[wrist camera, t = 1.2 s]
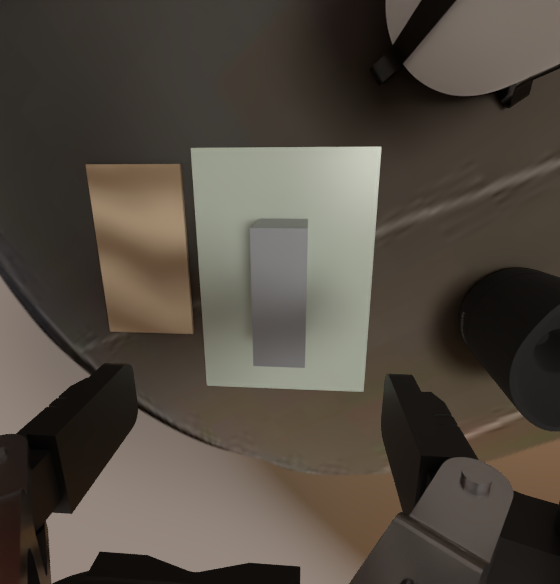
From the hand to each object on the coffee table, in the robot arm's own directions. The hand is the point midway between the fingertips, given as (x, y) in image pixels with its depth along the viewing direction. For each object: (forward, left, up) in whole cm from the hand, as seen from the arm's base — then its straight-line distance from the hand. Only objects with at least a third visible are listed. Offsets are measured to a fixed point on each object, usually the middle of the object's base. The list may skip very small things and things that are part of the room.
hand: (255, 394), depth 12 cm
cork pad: (0, -13, -22) cm, 25 cm away
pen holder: (+5, +19, -22) cm, 29 cm away
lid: (0, 0, -16) cm, 16 cm away
